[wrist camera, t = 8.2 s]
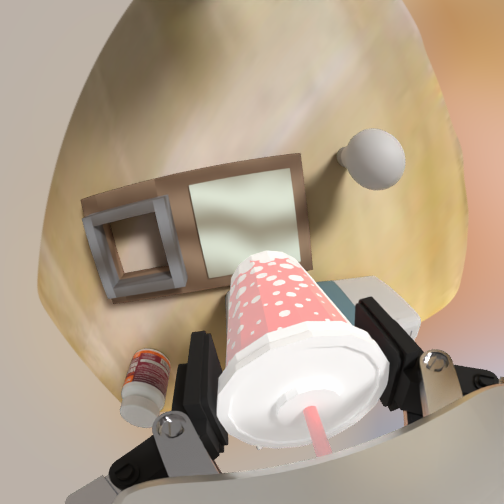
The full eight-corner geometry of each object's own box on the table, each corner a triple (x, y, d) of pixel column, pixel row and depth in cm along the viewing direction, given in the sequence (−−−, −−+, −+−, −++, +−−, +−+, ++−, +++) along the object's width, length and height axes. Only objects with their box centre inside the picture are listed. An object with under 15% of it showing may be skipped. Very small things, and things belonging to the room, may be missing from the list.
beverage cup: (196, 294, 16) (172, 553, 3) (264, 215, 15) (419, 480, 2) (272, 343, 18) (326, 549, 5) (336, 277, 17) (479, 468, 4)
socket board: (87, 197, 30) (70, 203, 26) (295, 153, 31) (306, 153, 27) (118, 296, 35) (107, 313, 31) (308, 263, 36) (319, 278, 32)
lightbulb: (324, 184, 32) (366, 199, 22) (316, 135, 30) (358, 128, 20) (367, 178, 33) (419, 190, 22) (360, 131, 31) (413, 126, 20)
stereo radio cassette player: (373, 268, 37) (463, 351, 18) (365, 317, 40) (434, 408, 21) (224, 283, 36) (229, 408, 17) (229, 334, 38) (238, 458, 20)
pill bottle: (135, 342, 37) (115, 396, 27) (174, 353, 39) (163, 410, 28) (132, 369, 39) (116, 422, 29) (168, 379, 40) (159, 434, 30)
